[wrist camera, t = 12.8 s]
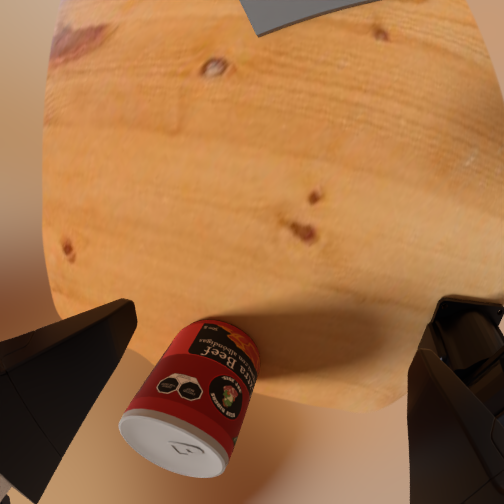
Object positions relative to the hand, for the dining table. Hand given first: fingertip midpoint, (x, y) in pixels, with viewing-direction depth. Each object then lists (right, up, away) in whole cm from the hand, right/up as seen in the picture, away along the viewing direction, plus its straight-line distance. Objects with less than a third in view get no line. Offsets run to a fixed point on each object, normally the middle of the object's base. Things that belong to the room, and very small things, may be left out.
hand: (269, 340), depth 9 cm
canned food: (-3, -6, +19) cm, 20 cm away
